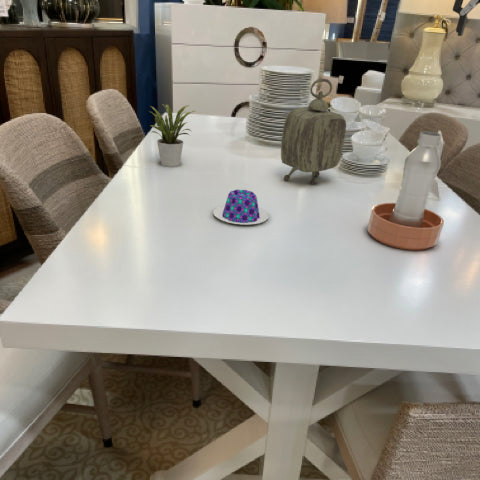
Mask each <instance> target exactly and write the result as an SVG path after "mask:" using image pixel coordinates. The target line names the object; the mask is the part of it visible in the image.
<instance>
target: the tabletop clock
mask: <svg viewBox="0 0 480 480" xmlns="http://www.w3.org/2000/svg"><path fill="white" fill-rule="evenodd" d="M318 83H326V84H328V85H329V91H328V92H326V93H324V92H323V91H322V90H320V91H318V94H316V93H314V92H313V88H314V86H315V85H316V84H318ZM332 90H333V85H332V82H331V80H329V79H328V78H318V79H316V80H314V81H313V82H312V83H311V86H310V89H309V91H310V94H311V96H312V97H313V98H314V99H312V100H311V101H310V102H309V104H308V107H307V106H306V107H300V108H295V109H292V110H290V111H289V112H287V114H286V117H285V120H284V123H283V127H282V134H281V141H280V142H281V143H280V160H281V163H282V164H284V165H286V166H289V167H290V168H291V170H290V171H289V173H287V174H285V175H283V180H284V181H285V182H288V181H289V180H290V179H291V175H292V174H293V173H295V172H297V171H300V172H302V173H311V177H312V178H310V184H311V185H316V184H317V178H315V177H319V176H320V172H323V171H327V170H330V169H334V168H335V167H337V166H338V165H339V163H340V161H341V158H342V154H343V148H344V144H345V139H346V131H347V122H346V119H345V117H344V115H342V114H341V113H337V112H333V111H330V110H329V104H328V102H327V100H325V99H324V98H326V97H328V96H329V95H330V94H331V92H332Z"/></svg>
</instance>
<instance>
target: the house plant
mask: <svg viewBox="0 0 480 480" xmlns="http://www.w3.org/2000/svg"><path fill="white" fill-rule="evenodd" d="M189 106H190V104H188V105H183V106H182V107H181V108H180V109H179V110H178V111H177V113H176V115H175V119H174V117H173V111H172V109H171V107H170V106H169V103H168V102H166V104H164V105H163V107H164V108H165V111H166V113H167V114H166V115H165V116H164V117H163V116H162V114H161V113H160V112H159V111H158V110H157V109H156V108H155V107H154V106H151V105H150V108H152V110H153V111H154V112H155V113H153V111H150V110H149V111H148V112H149V113H152V115H153V116H154V122H155V124H153V125H152V124H149V126H150V127H152V128H154V129H156V130H157V131H155V130H152V131H151V133H154V134H157V135H158V136H160V137H161V138H159V139H157V140H156V142H157V148H158V149H157V150H158V154H159V160H160V165H161V166H164V167H168V168H169V167H171V168H173V167H179V166H180V165H181V160H182V154H183V147H184V140H181V139H178V138H179V136H181V135H187V136H190V134H189V133H188V132H184V131H190V132H191V133H192V130H191V129H190V128H185V129H183V127H184V126H185V124H188V123H189V122H187V121H185V122H184V120H185V119H186V117H187V116H188V115H190V114H191V113H194V112H195V110H192V111H188V112H186V111H185V109H186V108H187V107H189ZM182 129H183V130H182ZM158 131H159V132H161V133H159V132H158Z"/></svg>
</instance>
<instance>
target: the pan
mask: <svg viewBox="0 0 480 480" xmlns="http://www.w3.org/2000/svg"><path fill="white" fill-rule="evenodd" d="M395 204H396V202H383V203H378V204H376V205H374V206H373V207H372V209H371V212H370V215H369V216H370V217H369V221H368V225H367V231H368V233H369V235H371V236H372V238H373V239H374V240H376V241H377V242H378V243H381V244H384V245H385V246H388V247H392V248H395V249H399V250H400V249H401V250H407V251H422V250H427V249H430V248H432V247H435V246H436V245H437V244H438V243H439V240H440V236H441V233H442V230H443V228H444V222H445V221H444V219H443V218H442V216H441V215H439V214H437V213H436V212H435V211H432V210H429V209H427V208H425V210H424V214H423V215H424V217H423V224H422V227H421V228H416V227H408V226H403V225H398V224H395V223H392V222H389V218H390V215H391V213H392V211H393V209H394V207H395Z"/></svg>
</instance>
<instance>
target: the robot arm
mask: <svg viewBox="0 0 480 480" xmlns="http://www.w3.org/2000/svg"><path fill="white" fill-rule="evenodd" d="M463 3H464V0H454V3H453V7H452V12H453V13H454V12H455V13H456V14H458V15H459V18H458V20H457V25H456V29H455V33H457V36H458V37H462V36H463V34H464V33H465V28H466V25H467V21H468V15H469V13H470V12H471V11H473V9H475V8H476V7H477V6H478V5H479V4H480V0H469V1H468V2H467V4H466V5H465V6H464V7H463Z"/></svg>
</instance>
